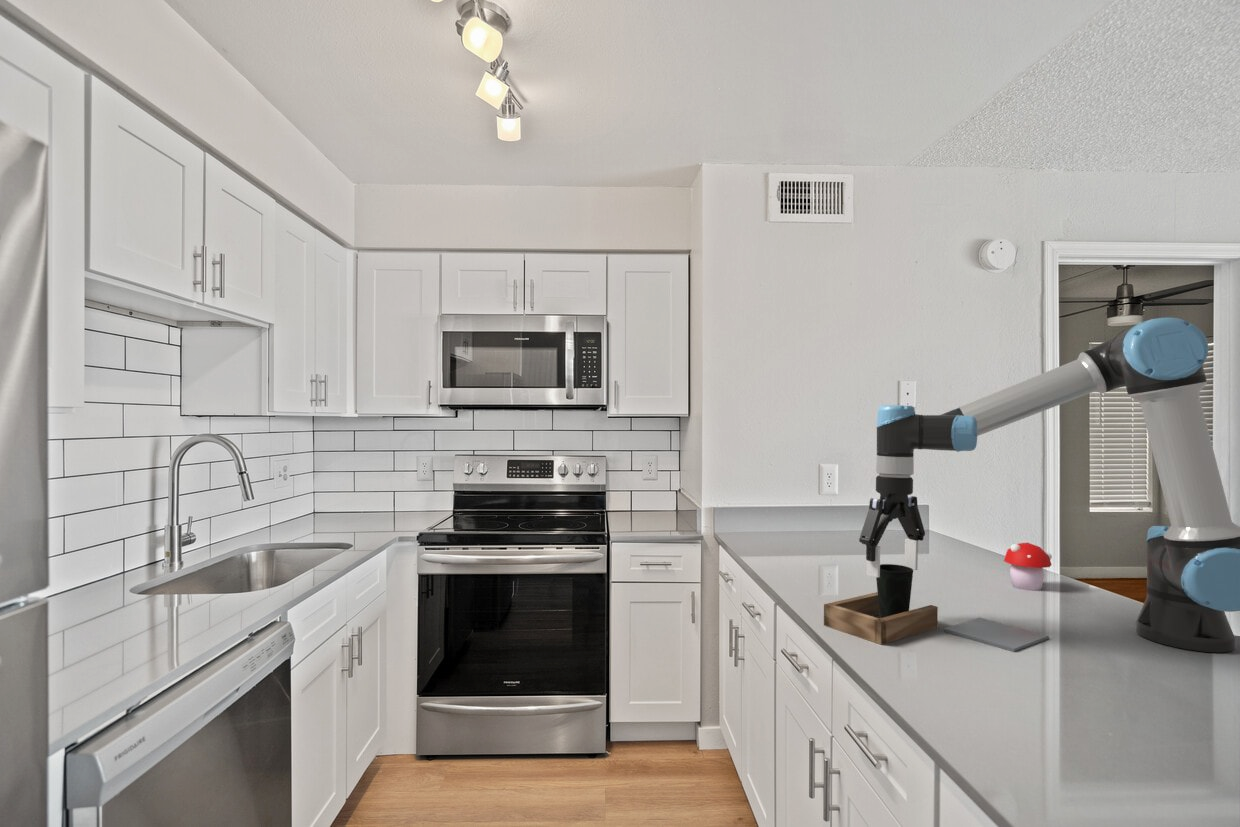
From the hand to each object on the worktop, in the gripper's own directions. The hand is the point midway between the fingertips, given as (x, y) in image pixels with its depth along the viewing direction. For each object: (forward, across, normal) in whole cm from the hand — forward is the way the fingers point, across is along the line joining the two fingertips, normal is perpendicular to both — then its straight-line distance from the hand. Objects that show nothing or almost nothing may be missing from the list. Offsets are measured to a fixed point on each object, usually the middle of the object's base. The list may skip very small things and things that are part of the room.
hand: (892, 572), depth 141 cm
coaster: (+11, -11, +16) cm, 23 cm away
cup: (+11, 0, 0) cm, 11 cm away
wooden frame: (+11, +4, 0) cm, 12 cm away
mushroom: (+11, -58, +1) cm, 59 cm away
